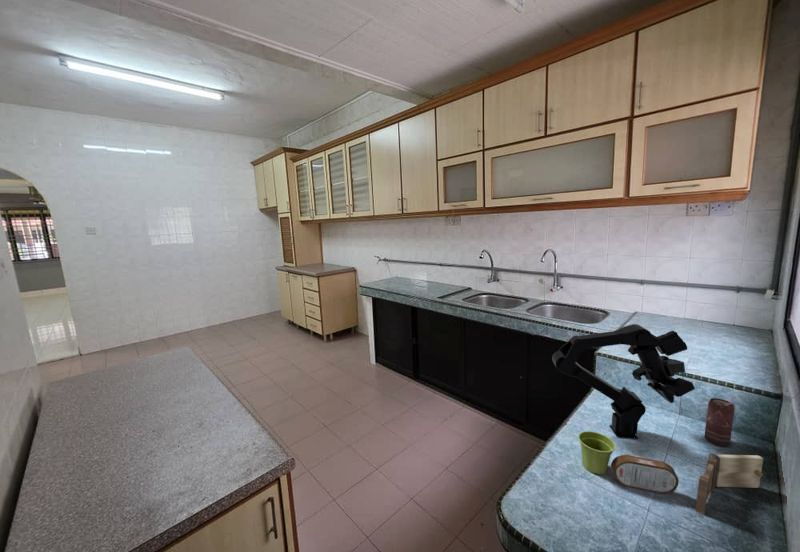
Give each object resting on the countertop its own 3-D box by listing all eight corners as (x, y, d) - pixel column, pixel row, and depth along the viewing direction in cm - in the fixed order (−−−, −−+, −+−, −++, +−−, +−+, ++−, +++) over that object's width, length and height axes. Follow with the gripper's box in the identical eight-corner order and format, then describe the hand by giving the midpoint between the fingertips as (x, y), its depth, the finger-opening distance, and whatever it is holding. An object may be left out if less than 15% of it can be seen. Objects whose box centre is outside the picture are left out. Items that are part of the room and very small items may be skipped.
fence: (703, 514, 81) (708, 482, 79) (695, 510, 82) (699, 478, 81) (713, 490, 88) (717, 459, 87) (705, 486, 89) (708, 456, 88)
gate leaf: (712, 490, 88) (716, 460, 87) (703, 481, 91) (706, 453, 89) (764, 491, 87) (768, 461, 86) (753, 483, 90) (757, 454, 89)
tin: (673, 490, 88) (676, 461, 87) (679, 499, 86) (682, 470, 84) (609, 477, 93) (611, 450, 92) (612, 485, 90) (614, 457, 89)
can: (735, 448, 104) (741, 407, 102) (712, 446, 106) (717, 406, 104) (721, 437, 110) (726, 398, 108) (699, 435, 111) (704, 396, 110)
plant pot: (620, 473, 95) (623, 445, 94) (598, 483, 91) (600, 455, 90) (590, 453, 103) (592, 428, 102) (569, 462, 100) (571, 435, 98)
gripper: (698, 356, 99) (721, 402, 99) (650, 343, 118) (668, 382, 118) (666, 373, 99) (689, 418, 99) (623, 357, 118) (642, 396, 118)
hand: (671, 402), depth 109 cm, fingers closed
